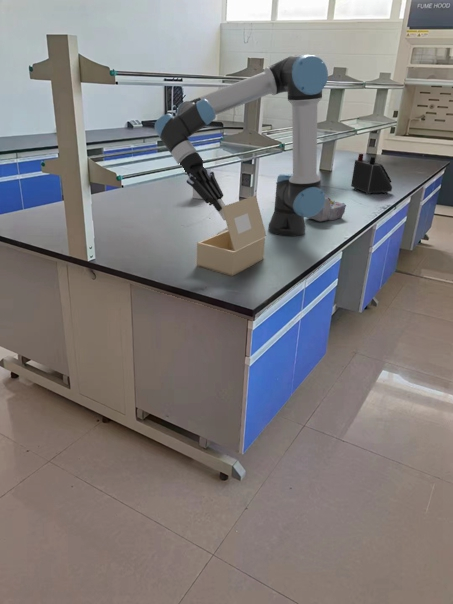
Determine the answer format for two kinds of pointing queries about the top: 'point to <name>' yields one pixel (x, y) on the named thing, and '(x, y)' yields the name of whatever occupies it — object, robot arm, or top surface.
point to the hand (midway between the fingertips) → (227, 217)
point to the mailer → (228, 254)
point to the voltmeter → (370, 176)
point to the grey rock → (330, 211)
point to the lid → (244, 222)
